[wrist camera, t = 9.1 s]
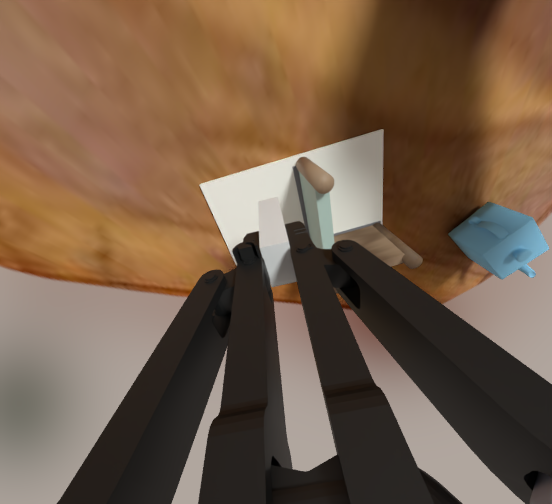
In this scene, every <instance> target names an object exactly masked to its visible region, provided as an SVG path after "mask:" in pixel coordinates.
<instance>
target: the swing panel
mask: <svg viewBox="0 0 552 504" xmlns="http://www.w3.org/2000/svg"><path fill="white" fill-rule="evenodd" d="M296 168H297V169H298V171H299V175H300V181H301V187H302V193H303V199H304V204H305V210H306V216H307V222H308V228H309V234H310V238H311V240H312V242H313V244H314V245H315V246H316V247H317V248H320V249H331V248H332V245H333V244H334V233H333V223H332V213H331V204H330V194H329V192H330V191H331V190H332V188H333V187H334V178H333V177H332V176H331V175H330V174H329V173H327V172H326V171H325V170H323V169H322V168H320V167H319V166H318V165H316V164H315V163H314V162H312V161H311V160H310V159H308V158H307V157H300V158H299V159H298V160H297V162H296Z"/></svg>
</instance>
